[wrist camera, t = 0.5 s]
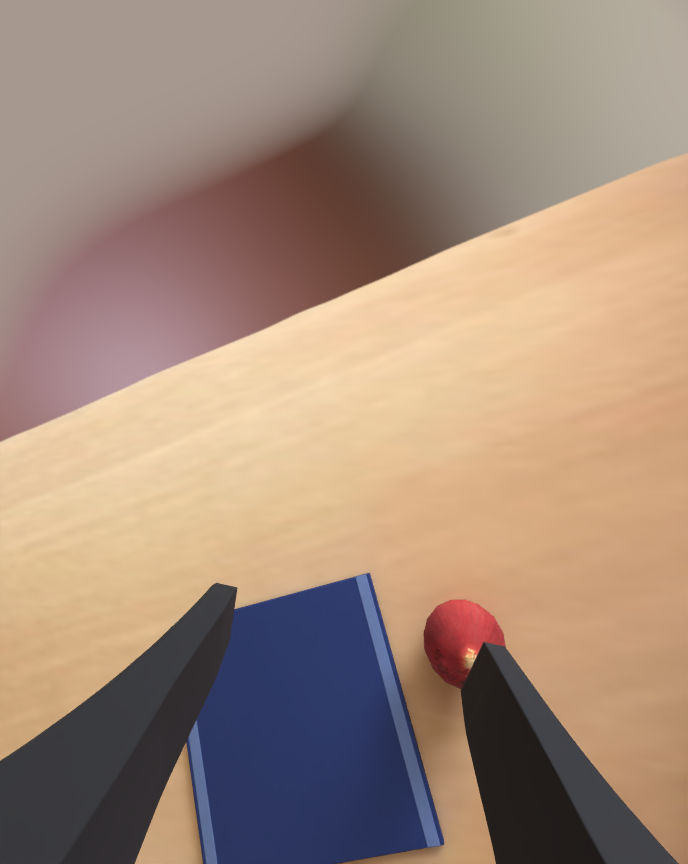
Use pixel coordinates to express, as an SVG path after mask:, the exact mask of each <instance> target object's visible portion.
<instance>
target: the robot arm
mask: <svg viewBox="0 0 688 864" xmlns="http://www.w3.org/2000/svg"><path fill="white" fill-rule="evenodd" d="M236 594H237V587H233V586H228V585H223V584H219V583H216V584H214V585H212V586H211V587H210V588H209V589H208V591H207V592H206V593H205V594H204V595H203V596H202V597H201V598H200V599H199V600H198V601H197V603H196V604H195V605H194V606H193V607H192V608H191V609H190V610H189V611H188V612H187V613H186V614H185V615H184V616H183V617H182V618H181V619H180V620H179V621H178V622H177V623H176V624H175V625H173V626H172V627H171V628H170V629H169V630H168V631H167V632H166V633H165V634H164V635H163V636H162V637H161V638H160V639H159V640H158V641H157V642H155V643H154V644H153V645H152V646H151V647H150V648H149V649H148V650H147V651H145V652H144V653H143V654H142V655H141V656H140V657H138V658H137V659H136V660H135V661H134V662H133V663H131V664H130V665H129V666H128V667H127V668H126V669H125V670H123V671H122V672H121V673H120V674H119V675H117V676H116V677H115V678H114V679H113V680H111V681H110V682H109V683H108V684H106V685H105V686H104V687H103V688H101V689H100V690H99V691H98V692H96V693H95V694H94V695H92V696H91V697H90V698H88V699H87V700H86V701H85V702H83V703H82V704H81V705H79V706H78V707H77V708H75V709H74V710H73V711H71V712H70V713H69V714H67V715H66V716H64V717H63V718H62V719H60V720H59V721H57V722H56V723H55V724H53V725H52V726H50V727H49V728H48V729H46V730H45V731H43V732H42V733H41V734H39V735H38V736H36V737H35V738H34V739H32V740H31V741H29V742H28V743H26V744H25V745H23V746H22V747H20V748H19V749H18V750H16V751H15V752H13V753H12V754H10V755H9V756H7V757H5V758H4V759H2V760H1V761H0V864H135V861H136V858H137V856H138V853H139V851H140V848H141V846H142V843H143V841H144V838H145V835H146V833H147V830H148V828H149V825H150V823H151V820H152V818H153V815H154V813H155V810H156V807H157V805H158V802H159V800H160V798H161V795H162V793H163V791H164V788H165V786H166V784H167V782H168V779H169V777H170V775H171V773H172V771H173V768H174V766H175V764H176V762H177V760H178V758H179V756H180V754H181V752H182V749H183V747H184V745H185V743H186V741H187V739H188V737H189V735H190V733H191V730H192V728H193V726H194V724H195V722H196V720H197V718H198V716H199V714H200V711H201V709H202V707H203V705H204V703H205V701H206V699H207V697H208V694H209V692H210V690H211V688H212V686H213V684H214V682H215V679H216V677H217V674H218V671H219V669H220V666H221V663H222V661H223V658H224V655H225V652H226V649H227V647H228V644H229V641H230V636H231V629H232V622H233V615H234V608H235V601H236ZM461 697H462V706H463V714H464V721H465V728H466V735H467V739H468V744H469V748H470V753H471V757H472V761H473V766H474V770H475V774H476V778H477V783H478V787H479V791H480V795H481V800H482V804H483V808H484V812H485V816H486V821H487V825H488V829H489V833H490V837H491V842H492V846H493V851H494V856H495V860H496V864H678V863H677V862H676V860H675V859H674V858H673V857H672V856H671V855H670V854H669V853H668V852H667V851H666V850H665V849H664V847H663V846H662V845H661V844H660V843H659V842H658V841H657V840H656V838H655V837H654V836H653V835H652V834H651V833H650V832H649V831H648V829H647V828H646V827H645V826H644V825H643V824H642V823H641V821H640V820H639V819H638V818H637V817H636V816H635V815H634V813H633V812H632V811H631V810H630V809H629V808H628V807H627V806H626V804H625V803H624V802H623V801H622V800H621V798H620V797H619V796H618V795H617V794H616V793H615V791H614V790H613V789H612V788H611V787H610V785H609V784H608V783H607V782H606V780H605V779H604V778H603V777H602V775H601V774H600V773H599V772H598V770H597V769H596V768H595V767H594V765H593V764H592V763H591V762H590V760H589V759H588V758H587V757H586V756H585V754H584V753H583V752H582V750H581V749H580V748H579V747H578V745H577V744H576V743H575V741H574V740H573V739H572V737H571V736H570V735H569V734H568V732H567V731H566V730H565V728H564V727H563V726H562V724H561V723H560V722H559V720H558V719H557V718H556V716H555V715H554V714H553V712H552V711H551V709H550V708H549V707H548V705H547V704H546V703H545V701H544V700H543V699H542V697H541V696H540V694H539V693H538V692H537V690H536V689H535V688H534V686H533V685H532V683H531V682H530V681H529V679H528V678H527V676H526V675H525V674H524V672H523V671H522V670H521V668H520V667H519V665H518V664H517V663H516V661H515V660H514V659H513V657H512V656H511V654H510V653H509V652H508V650H507V649H506V648H505V646H501V645H496V644H492V643H487V642H483V644H482V646H481V648H480V650H479V652H478V655H477V657H476V659H475V661H474V663H473V665H472V668H471V670H470V672H469V674H468V676H467V678H466V680H465V683H464V685H463V687H462V689H461Z"/></svg>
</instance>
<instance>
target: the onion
mask: <svg viewBox="0 0 688 864" xmlns="http://www.w3.org/2000/svg"><path fill="white" fill-rule="evenodd" d="M483 642H487V643H492V644H496V645H501V646H505V640H504V634H503V632H502V630H501V628H500V626H499V625H498V623H497V621H496V620H495V618H494V616H492V615H491V614H490V613H489V612H487V611H486V610H485V609H484V608H482V607H481V606H480V605H478V604H476V603H473V602H470V601H467V600H449V601H447V602H445V603H443V604H441V605H439V606H437V607H436V608H435V609H434V611H433V612H432V613H431V615H430V616H429V617H428V619H427V622H426V626H425V630H424V649H425V652H426V654H427V656H428V659H429V661H430V663H431V665H432V667H433V669H434V670H435V671H436V672H437V673H438V674H439V675H440V676H441V677H442V678H443V679H444V681H445V682H446V683H449V684H451V685H453V686H456V687H458V688H460V689H462V687H463V685H464V683H465V680H466V678H467V676H468V674H469V672H470V670H471V668H472V665H473V663H474V661H475V659H476V657H477V655H478V652H479V650H480V648H481V646H482V644H483ZM505 648H506V647H505Z"/></svg>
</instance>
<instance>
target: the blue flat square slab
mask: <svg viewBox="0 0 688 864" xmlns="http://www.w3.org/2000/svg"><path fill="white" fill-rule="evenodd" d="M186 742H187V749H188V757H189V764H190V771H191V778H192V785H193V793H194V800H195V807H196V814H197V822H198V829H199V836H200V843H201V850H202V858H203V864H336V863H342V862H348V861H354V860H359V859H365V858H371V857H376V856H382V855H388V854H393V853H399V852H405V851H410V850H416V849H422V848H427V847H428V848H430V847H436V846H440V845H444V839H443V835H442V832H441V828H440V824H439V821H438V817H437V814H436V810H435V806H434V803H433V799H432V796H431V792H430V788H429V785H428V781H427V778H426V774H425V770H424V767H423V763H422V760H421V756H420V752H419V749H418V745H417V742H416V738H415V734H414V731H413V727H412V724H411V720H410V716H409V713H408V709H407V706H406V702H405V698H404V695H403V691H402V688H401V684H400V680H399V677H398V673H397V670H396V666H395V662H394V659H393V655H392V652H391V648H390V644H389V641H388V637H387V634H386V630H385V626H384V623H383V619H382V616H381V612H380V608H379V605H378V601H377V597H376V594H375V590H374V587H373V583H372V579H371V576H370V573H367V574H363V575H360V576H356V577H352V578H349V579H345V580H341V581H338V582H334V583H330V584H327V585H323V586H319V587H315V588H312V589H308V590H304V591H301V592H297V593H293V594H290V595H286V596H282V597H279V598H275V599H271V600H268V601H264V602H260V603H256V604H253V605H249V606H245V607H242V608H238V609H234V615H233V622H232V629H231V636H230V641H229V644H228V647H227V649H226V652H225V655H224V658H223V661H222V663H221V666H220V669H219V671H218V674H217V677H216V679H215V682H214V684H213V686H212V688H211V690H210V692H209V694H208V697H207V699H206V701H205V703H204V705H203V707H202V709H201V711H200V714H199V716H198V718H197V720H196V722H195V724H194V726H193V728H192V730H191V733H190V735H189V737H188V739H187V741H186Z"/></svg>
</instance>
